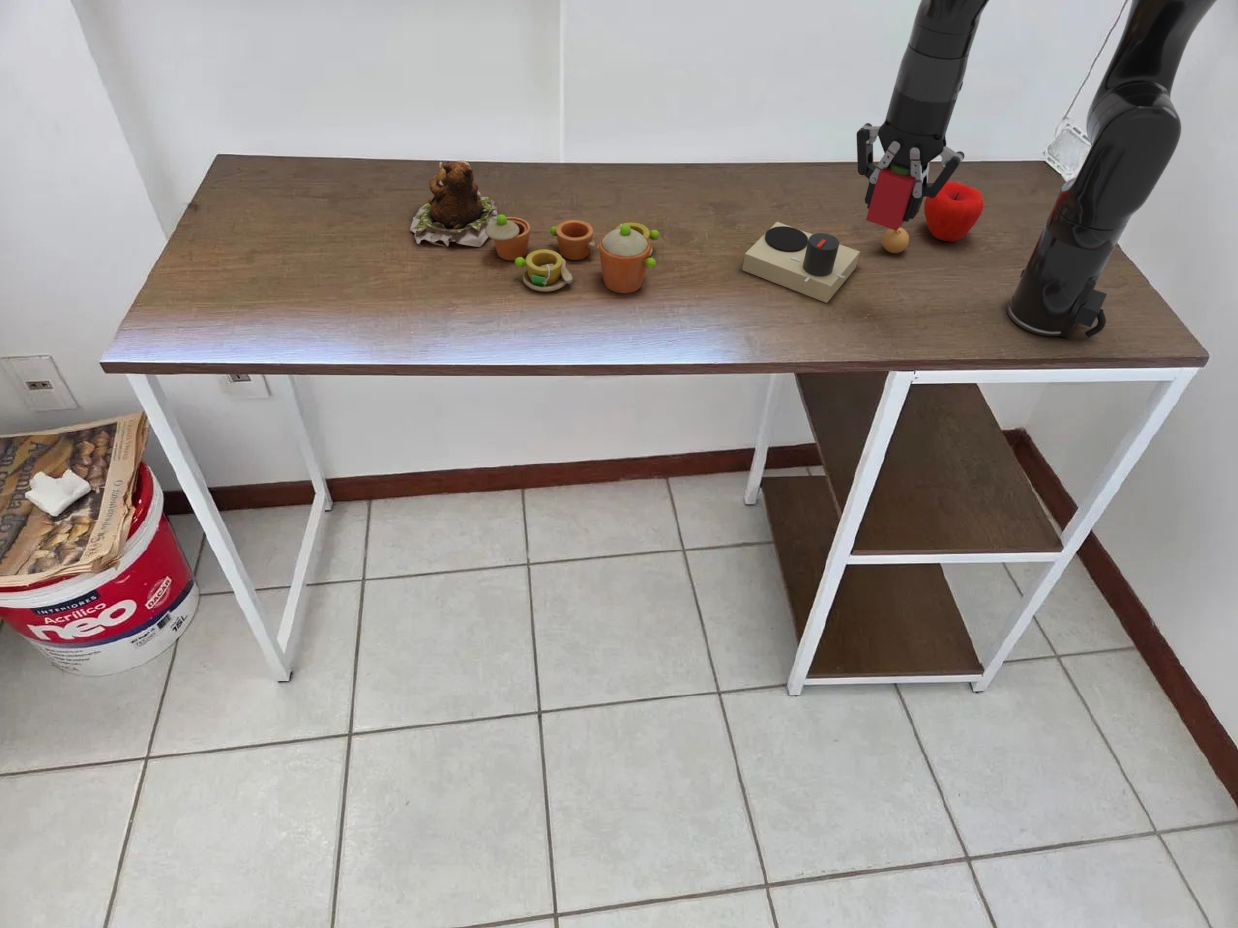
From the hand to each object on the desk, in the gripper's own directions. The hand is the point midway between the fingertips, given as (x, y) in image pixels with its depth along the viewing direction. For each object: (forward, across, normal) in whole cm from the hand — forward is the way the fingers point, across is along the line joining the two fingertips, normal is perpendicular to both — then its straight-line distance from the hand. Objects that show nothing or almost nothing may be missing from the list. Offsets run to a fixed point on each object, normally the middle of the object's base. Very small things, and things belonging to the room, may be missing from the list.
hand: (889, 212), depth 117 cm
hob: (+15, -11, +2) cm, 19 cm away
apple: (+15, +4, +25) cm, 30 cm away
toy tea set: (+15, -39, -18) cm, 46 cm away
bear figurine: (+15, -61, -19) cm, 66 cm away
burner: (+12, -15, +4) cm, 19 cm away
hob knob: (+12, -8, 0) cm, 14 cm away
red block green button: (+1, 0, 0) cm, 1 cm away
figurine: (+15, -2, +15) cm, 22 cm away
